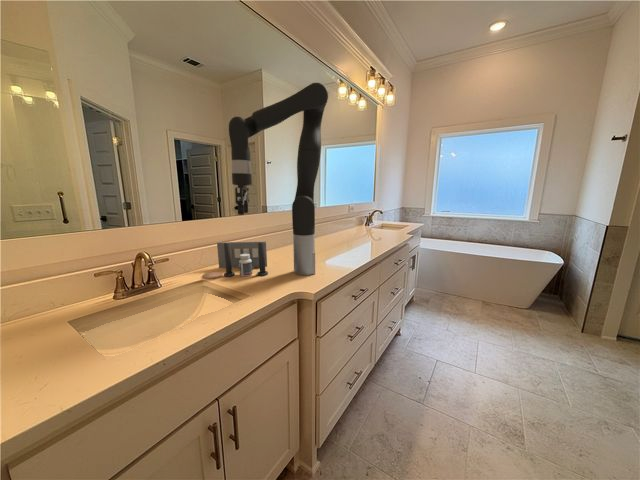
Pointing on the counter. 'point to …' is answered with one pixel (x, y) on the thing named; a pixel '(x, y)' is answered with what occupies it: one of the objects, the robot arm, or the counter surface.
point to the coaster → (212, 275)
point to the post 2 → (262, 260)
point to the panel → (239, 249)
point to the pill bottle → (245, 265)
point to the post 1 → (228, 261)
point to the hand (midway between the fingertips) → (243, 213)
